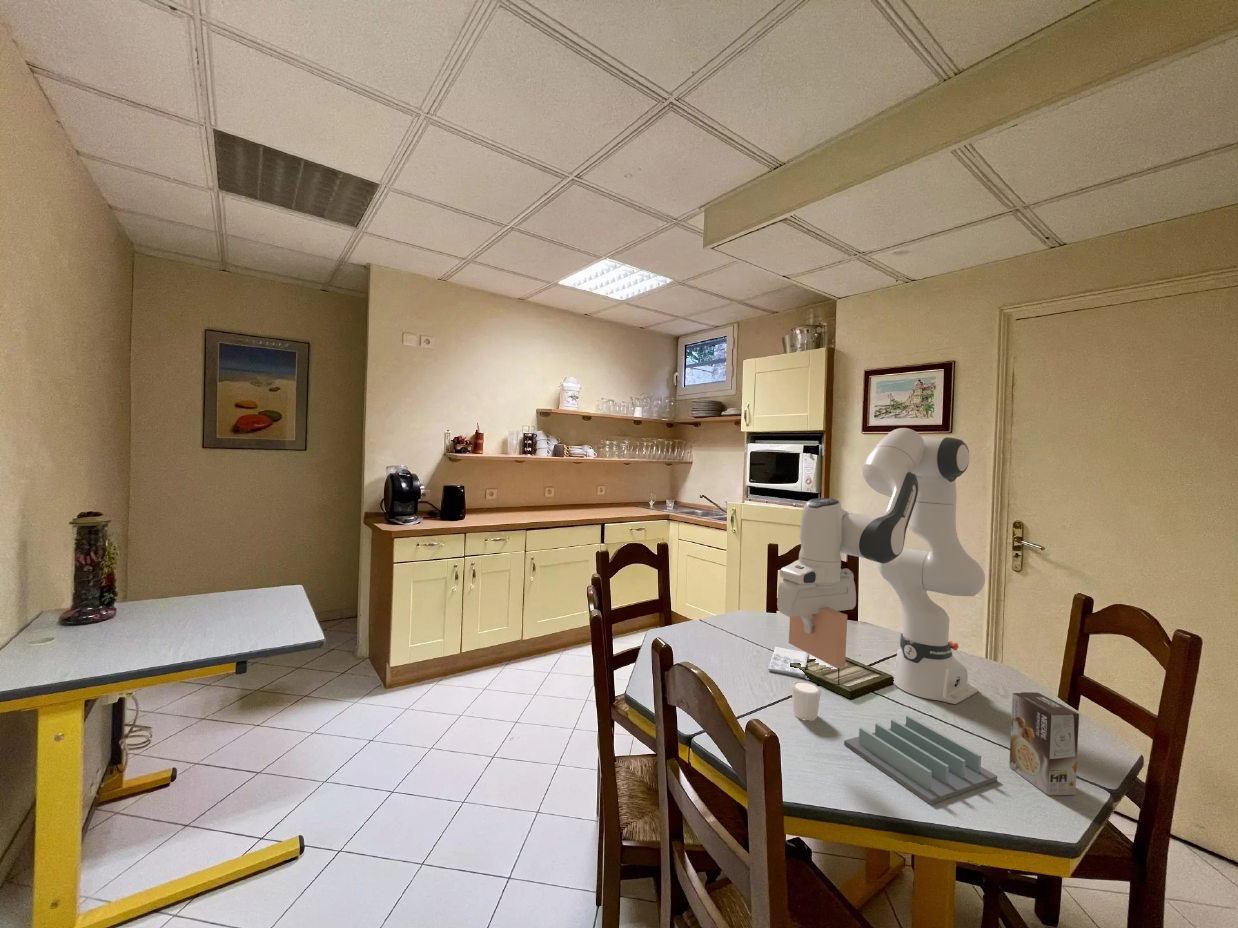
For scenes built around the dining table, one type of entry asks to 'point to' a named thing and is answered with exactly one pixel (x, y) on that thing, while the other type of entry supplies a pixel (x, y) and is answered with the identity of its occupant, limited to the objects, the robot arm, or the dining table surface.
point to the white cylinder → (805, 700)
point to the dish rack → (922, 759)
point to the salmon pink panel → (822, 636)
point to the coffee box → (1044, 743)
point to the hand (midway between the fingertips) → (816, 631)
